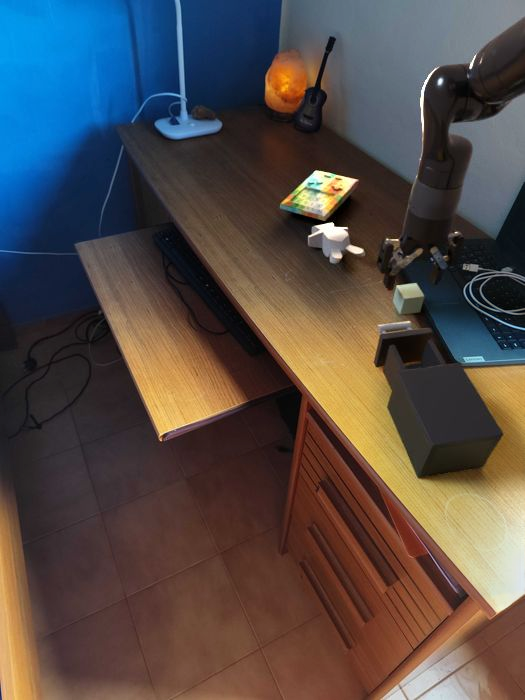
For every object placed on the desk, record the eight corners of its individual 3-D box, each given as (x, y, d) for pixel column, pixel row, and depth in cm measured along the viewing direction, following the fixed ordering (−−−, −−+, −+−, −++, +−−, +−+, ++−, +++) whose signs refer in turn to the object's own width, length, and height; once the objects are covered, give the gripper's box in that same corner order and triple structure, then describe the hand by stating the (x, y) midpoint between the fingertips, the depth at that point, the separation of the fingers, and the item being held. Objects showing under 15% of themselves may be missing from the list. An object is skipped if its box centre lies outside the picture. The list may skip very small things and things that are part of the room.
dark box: (386, 406, 73) (396, 371, 67) (444, 398, 74) (459, 362, 68) (417, 478, 65) (432, 445, 59) (482, 468, 66) (504, 434, 59)
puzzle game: (359, 176, 117) (324, 212, 105) (356, 194, 120) (323, 231, 109) (317, 166, 121) (279, 200, 110) (316, 184, 125) (279, 218, 113)
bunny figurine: (338, 214, 106) (371, 241, 95) (337, 235, 109) (369, 264, 98) (300, 222, 104) (329, 251, 93) (300, 243, 107) (328, 273, 96)
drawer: (365, 345, 82) (371, 316, 77) (411, 338, 82) (420, 310, 78) (397, 417, 71) (406, 389, 66) (450, 409, 72) (462, 381, 67)
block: (412, 299, 91) (416, 282, 88) (420, 312, 89) (424, 296, 86) (392, 301, 91) (396, 285, 88) (399, 315, 88) (404, 298, 85)
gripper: (398, 222, 71) (380, 303, 83) (485, 213, 72) (456, 293, 84) (381, 198, 76) (367, 277, 88) (463, 189, 77) (438, 268, 89)
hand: (410, 285), depth 86 cm, fingers open, 8 cm apart
